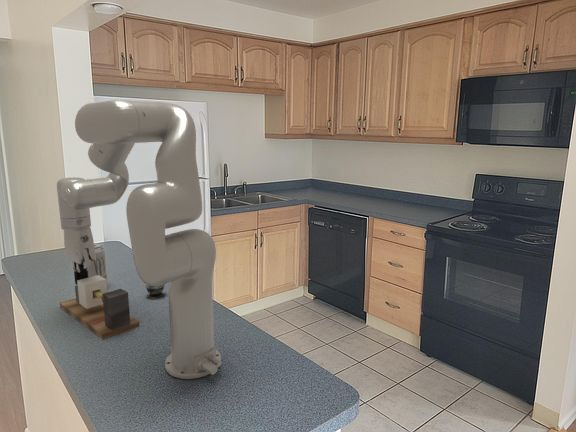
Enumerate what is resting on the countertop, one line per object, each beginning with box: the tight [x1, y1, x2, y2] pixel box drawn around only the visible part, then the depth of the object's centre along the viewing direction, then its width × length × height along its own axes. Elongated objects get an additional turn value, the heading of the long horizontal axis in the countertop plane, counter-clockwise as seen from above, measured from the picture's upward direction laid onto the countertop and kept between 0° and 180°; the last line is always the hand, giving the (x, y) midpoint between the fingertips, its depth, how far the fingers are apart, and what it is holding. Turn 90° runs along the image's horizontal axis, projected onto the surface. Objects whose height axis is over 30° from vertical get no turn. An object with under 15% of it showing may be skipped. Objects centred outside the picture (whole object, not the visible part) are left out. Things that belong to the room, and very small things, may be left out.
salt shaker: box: [145, 284, 166, 300], centre depth 133 cm, size 6×6×12 cm
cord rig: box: [59, 285, 140, 340], centre depth 119 cm, size 28×10×10 cm, turn 48°
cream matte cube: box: [76, 275, 108, 309], centre depth 120 cm, size 5×6×7 cm
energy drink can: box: [88, 243, 108, 284], centre depth 138 cm, size 6×6×15 cm
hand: (82, 283), depth 122 cm, fingers closed
